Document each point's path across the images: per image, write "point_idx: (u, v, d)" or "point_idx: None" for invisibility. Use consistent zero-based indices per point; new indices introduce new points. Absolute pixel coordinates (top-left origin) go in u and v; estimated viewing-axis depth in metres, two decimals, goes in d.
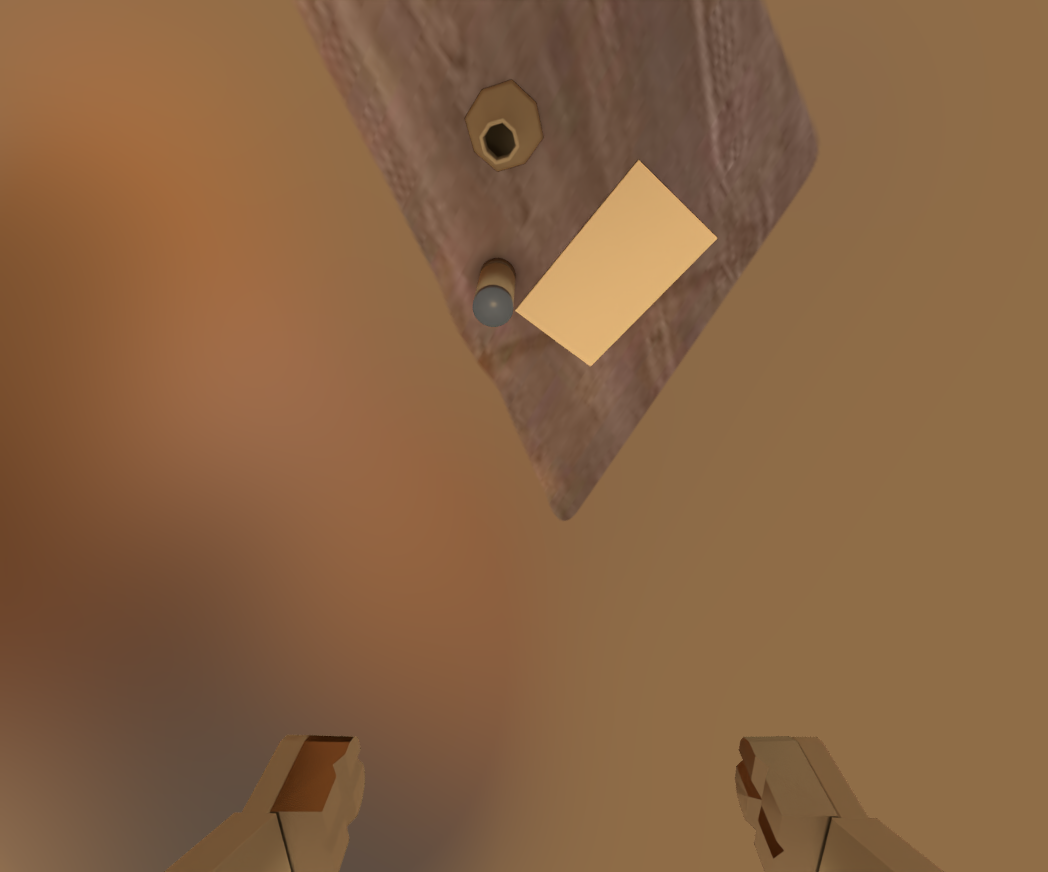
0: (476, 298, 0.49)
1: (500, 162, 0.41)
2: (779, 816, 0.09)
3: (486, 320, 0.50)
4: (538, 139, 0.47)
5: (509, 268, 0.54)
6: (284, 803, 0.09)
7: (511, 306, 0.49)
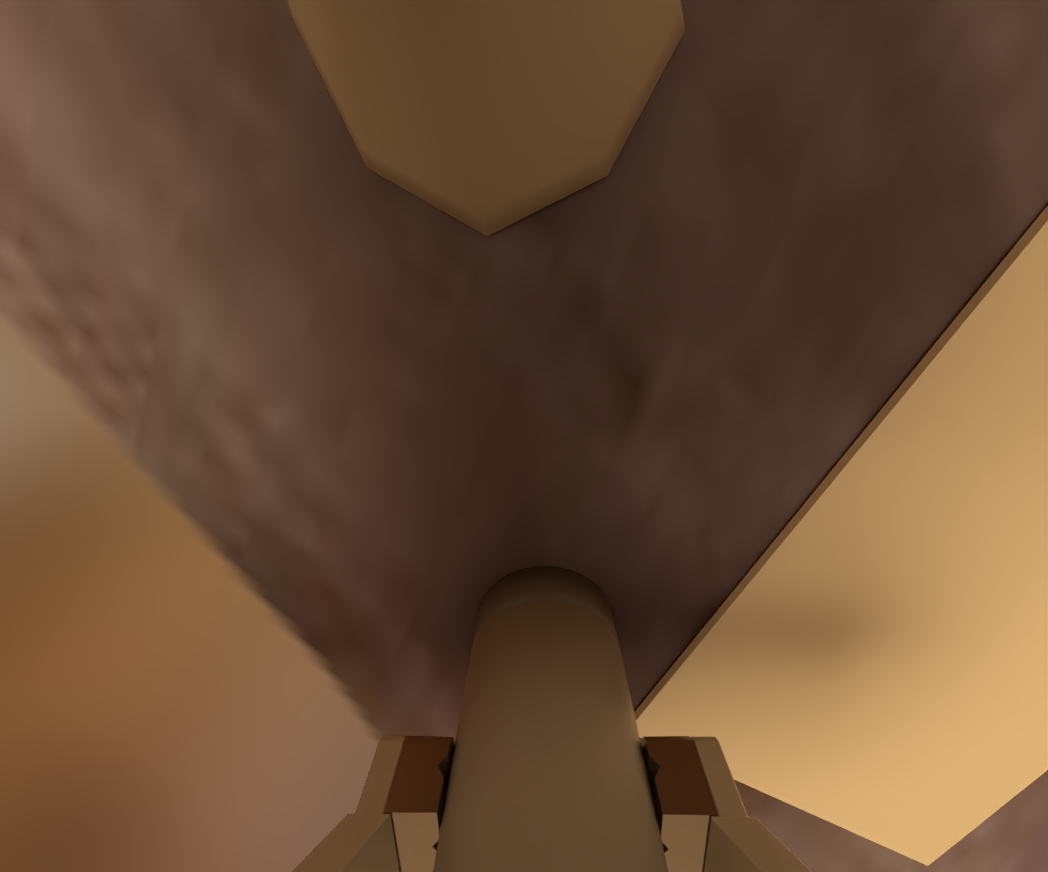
0: None
1: None
2: None
3: None
4: (674, 11, 0.09)
5: (592, 617, 0.12)
6: (396, 804, 0.09)
7: None
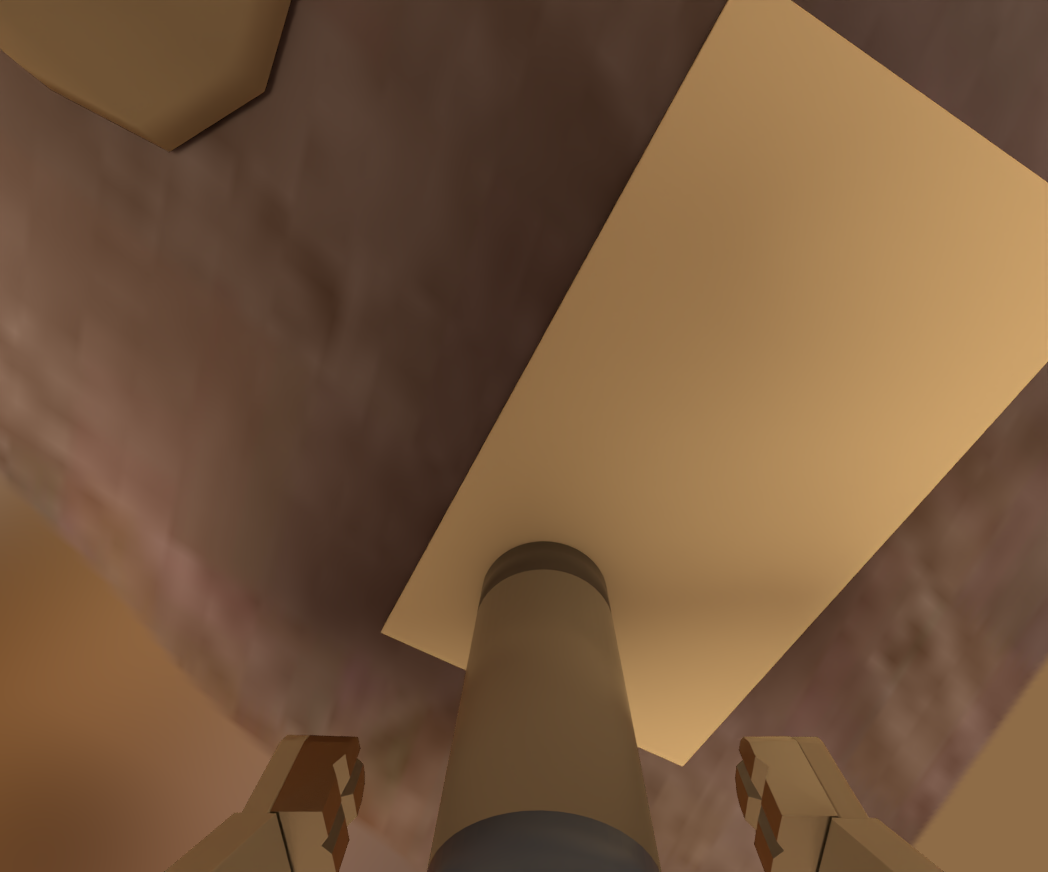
0: None
1: None
2: (779, 816, 0.09)
3: None
4: None
5: (586, 584, 0.14)
6: (284, 803, 0.09)
7: None
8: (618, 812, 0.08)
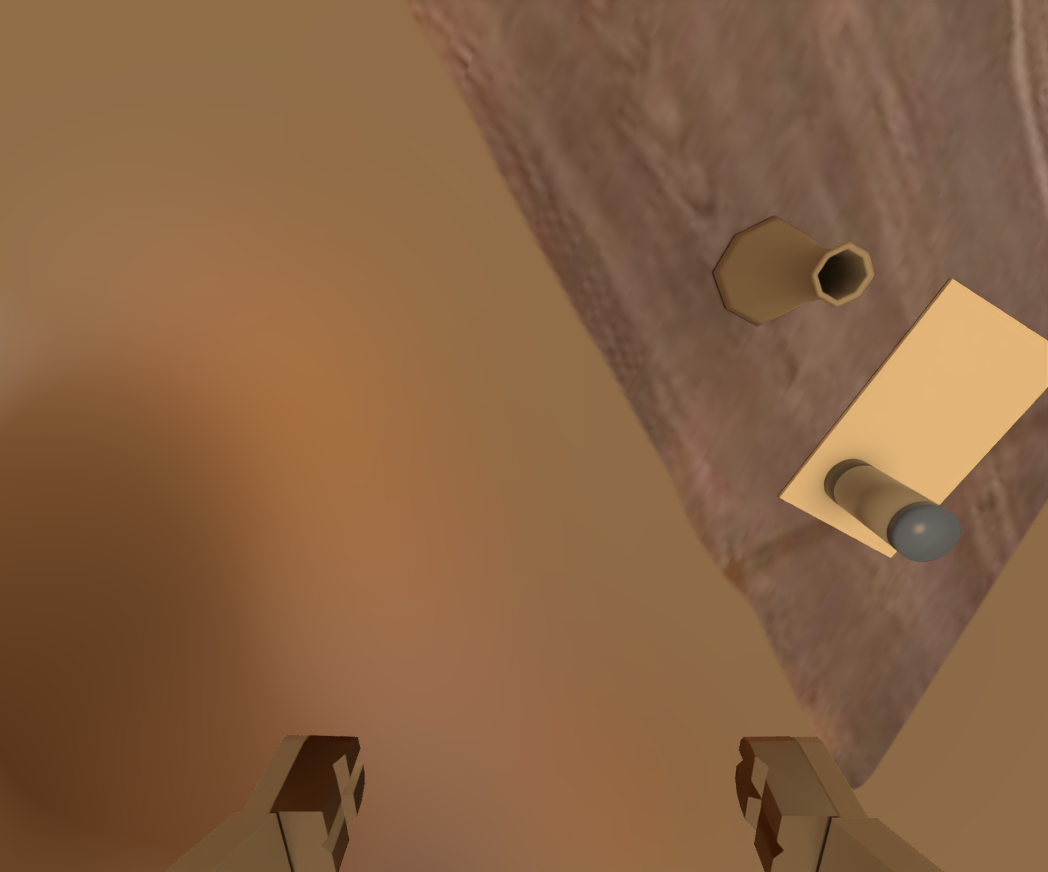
0: (903, 525, 0.33)
1: (844, 301, 0.28)
2: (779, 816, 0.09)
3: (916, 554, 0.33)
4: (820, 275, 0.35)
5: None
6: (284, 803, 0.09)
7: (958, 528, 0.33)
8: (937, 504, 0.34)
